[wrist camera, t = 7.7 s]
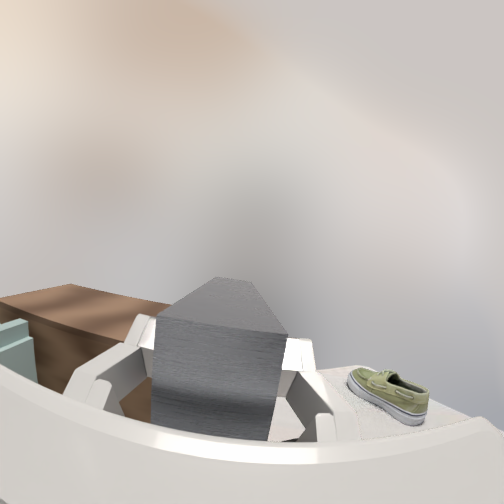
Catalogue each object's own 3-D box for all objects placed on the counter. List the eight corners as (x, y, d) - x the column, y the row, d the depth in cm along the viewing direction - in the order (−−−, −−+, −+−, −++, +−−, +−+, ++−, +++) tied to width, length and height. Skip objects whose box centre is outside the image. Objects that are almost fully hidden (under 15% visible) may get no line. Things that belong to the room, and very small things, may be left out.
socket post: (11, 536, 7) (-86, 304, 7) (31, 510, 13) (-32, 294, 13) (74, 572, 7) (-34, 346, 7) (89, 539, 13) (32, 323, 13)
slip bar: (150, 423, 7) (156, 314, 7) (211, 311, 29) (216, 276, 29) (267, 441, 7) (288, 334, 8) (246, 316, 29) (251, 282, 30)
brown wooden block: (45, 503, 15) (-6, 299, 15) (83, 452, 28) (70, 283, 28) (229, 556, 16) (271, 365, 16) (230, 487, 29) (258, 317, 29)
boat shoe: (363, 379, 75) (370, 352, 75) (434, 419, 48) (447, 386, 48) (337, 383, 72) (344, 355, 72) (409, 431, 45) (423, 396, 45)
